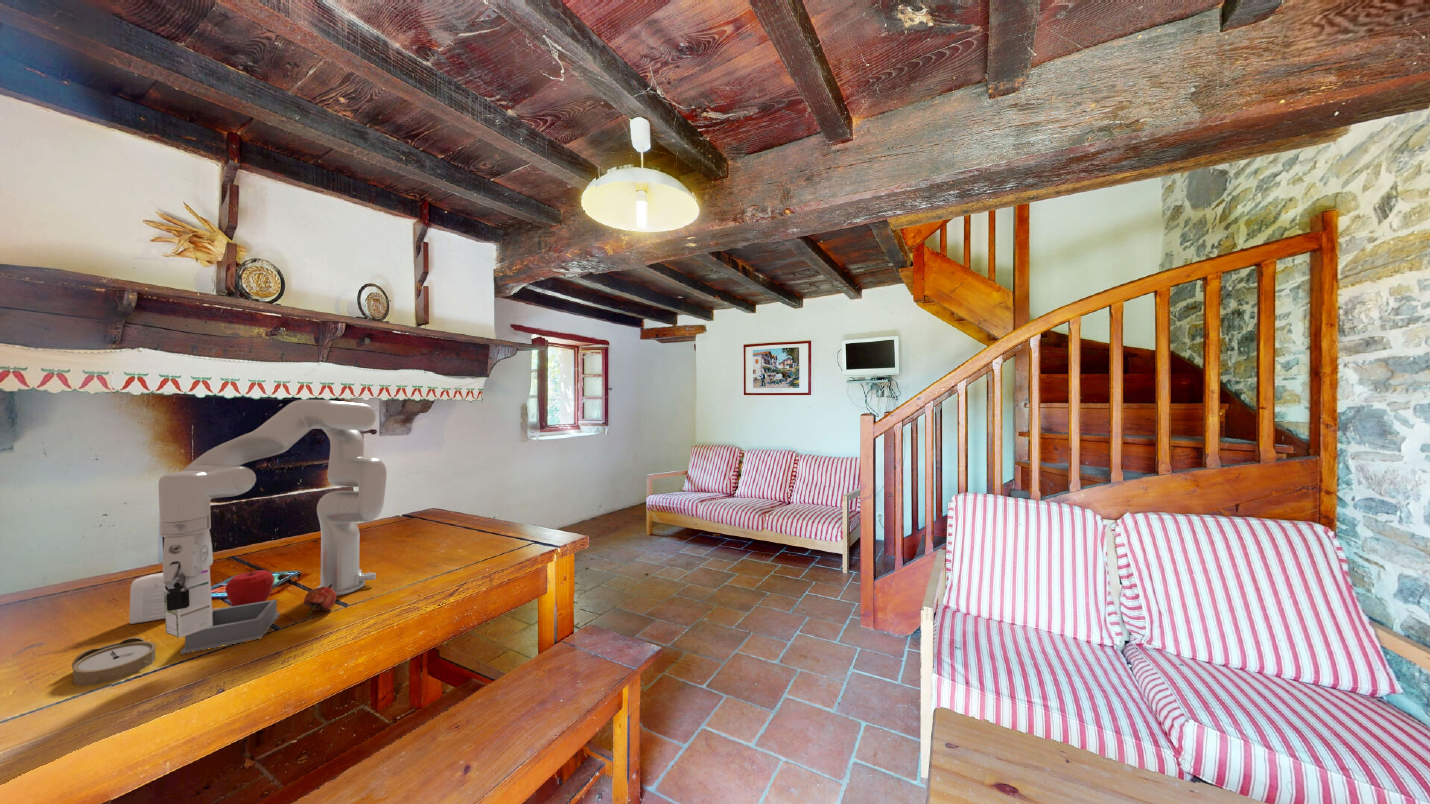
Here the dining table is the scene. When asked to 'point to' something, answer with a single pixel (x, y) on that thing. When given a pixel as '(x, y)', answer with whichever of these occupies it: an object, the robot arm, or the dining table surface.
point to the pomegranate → (320, 599)
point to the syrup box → (191, 607)
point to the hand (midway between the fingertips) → (188, 600)
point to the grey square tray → (234, 626)
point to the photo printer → (147, 599)
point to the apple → (250, 587)
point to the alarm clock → (112, 661)
